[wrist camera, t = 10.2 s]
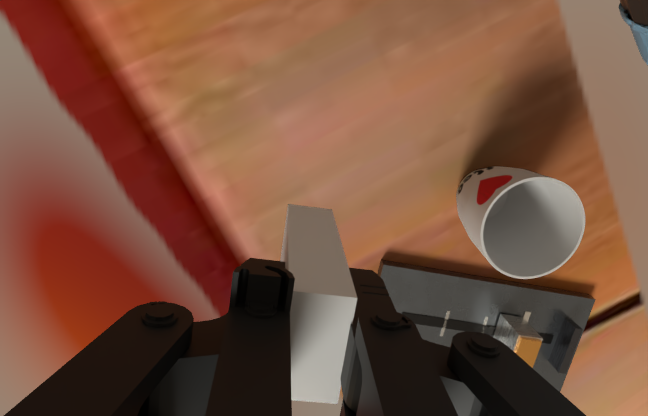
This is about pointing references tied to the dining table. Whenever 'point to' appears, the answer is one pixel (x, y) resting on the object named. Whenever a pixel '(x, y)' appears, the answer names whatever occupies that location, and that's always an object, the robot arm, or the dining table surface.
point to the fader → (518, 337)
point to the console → (489, 310)
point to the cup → (520, 219)
